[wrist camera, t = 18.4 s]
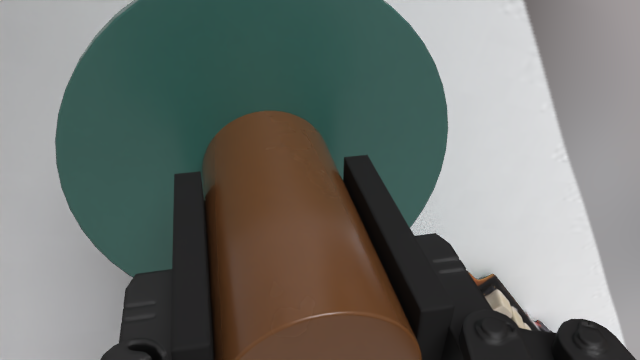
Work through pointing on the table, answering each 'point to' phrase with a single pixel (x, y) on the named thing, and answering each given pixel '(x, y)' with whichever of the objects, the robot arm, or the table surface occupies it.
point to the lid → (258, 160)
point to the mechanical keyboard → (506, 303)
